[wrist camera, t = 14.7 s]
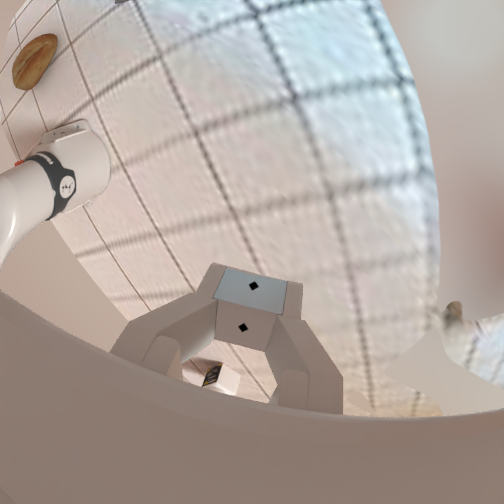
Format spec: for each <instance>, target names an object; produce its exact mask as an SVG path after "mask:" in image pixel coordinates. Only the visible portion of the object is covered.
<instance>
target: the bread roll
mask: <svg viewBox="0 0 504 504" xmlns="http://www.w3.org/2000/svg"><path fill="white" fill-rule="evenodd" d="M56 47H57V36H56V35H54V34H44V35H41V36H39V37H36V38H35V39H33V40H32V41H30V42H29V43H28V44H27V45H26V46H25V47H24V48H23V50H22V51H21V52H20V54H19V55H18V57H17V58H16V60H15V62H14V65H13V69H12V75H13V82H14V85H15V87H16V88H18V89H22V90H30V89H32V88H33V87H34V86H35V85H36V84H37V83H38V82H39V80H40V78H41V77H42V75H43V73H44V72H45V70H46V68H47V66H48V65H49V63H50V61H51V60H52V58H53V56H54V53H55V50H56Z"/></svg>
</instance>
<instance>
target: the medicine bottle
mask: <svg viewBox="0 0 504 504" xmlns="http://www.w3.org/2000/svg"><path fill="white" fill-rule="evenodd" d="M240 378H241V374H239V373H238V372H236V371H235V370H233V369H232V368H230V367H229V366H227V365H226V364H224V363H221V364H219V365H216V366H214V367H212V368H209V369H208V371H207V374H206V377H205V379H204V382H203V385H202V387H203V388H206V389H210V390H213V391H217V392H221V393H224V394H228V395H232V396H233V395H236V392H237V389H238V385H239V381H240Z"/></svg>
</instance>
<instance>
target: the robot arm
mask: <svg viewBox="0 0 504 504" xmlns="http://www.w3.org/2000/svg"><path fill="white" fill-rule="evenodd" d="M109 175H110V162H109V157H108V153H107V151H106V148H105V146H104V144H103V143H102V141H101V140H100V139H99V137H98V136H96V135H95V134H94V133H93V132H92V130H91V128H90V126H89V124H88V122H87V121H86V120H85V119H82V120H79V121H76V122H73V123H70V124H67V125H65V126H62V127H59V128H56V129H54V130H51V131H49V132H46V133H45V134H43V136H42V140H41V145H38V146H36V147H34V148H33V150H32V152H31V156H29V157H28V158H27V159H26V160H25V161H23V160H21V161H18V162H16V163H15V167H14V168H12V169H10V170H8V171H6V172H4V173H2V174H0V270H1V268H2V266H3V265H4V263H5V261H6V259H7V258H8V256H9V254H10V253H11V251H12V250H13V249H14V247H15V246H16V245H17V244H18V242H19V241H20V240H21V239H22V238H23V237H24V236H26V235H27V234H28V233H29V232H30V231H32V230H33V229H34V228H35V227H37V226H38V225H39V224H41V223H42V222H43V221H47V220H50V219H51V218H54V217H55V216H57V215H58V214H59V213H60V212H62V213H64V214H66V213H69V212H70V211H72V210H74V209H76V208H78V207H79V206H81V205H84V206H86V207H88V206H90V205H92V203H93V201H94V199H95V197H96V196H97V195H98V194H100V193H101V192H102V191H103V190H104V189H105V187H106V185H107V183H108V180H109ZM302 296H303V284H302V283H297V282H292V281H285V280H280V279H276V278H272V277H267V276H263V275H259V274H256V273H252V272H248V271H244V270H240V269H237V268H233V267H229V266H228V267H227V266H225V265H221V264H217V263H212V264H211V265H210V267H209V269H208V270H207V272H206V274H205V276H204V278H203V280H202V282H201V283H200V285H199V287H198V289H197V291H196V293H189V294H186V295H184V296H182V297H180V298H178V299H176V300H174V301H172V302H170V303H168V304H166V305H163V306H161V307H159V308H157V309H155V310H153V311H151V312H149V313H147V314H144V315H142V316H140V317H138V318H136V319H134V320H132V321H130V322H129V323H128V324H127V326H126V327H125V329H124V330H123V332H122V334H121V335H120V336H119V338H118V339H117V341H116V343H115V344H114V346H113V347H112V349H111V350H110V352H107V351H105V350H103V349H101V348H98V347H96V346H94V345H92V344H90V343H88V342H86V341H84V340H82V339H80V338H78V337H76V336H74V335H73V334H71V333H69V332H67V331H65V330H63V329H61V328H59V327H58V326H56V325H54V324H53V323H51V322H49V321H47V320H46V319H44V318H43V317H41V316H39V315H37V314H36V313H34V312H33V311H31V310H30V309H28V308H26V307H25V306H23V305H22V304H20V303H19V302H17V301H16V300H14V299H13V298H11V297H10V296H9V295H7V294H6V293H4V292H3V291H2V290H0V504H504V408H501V409H495V410H489V411H482V412H476V413H468V414H459V415H448V416H433V417H369V416H354V415H343V376H342V375H341V373H340V372H339V370H338V369H337V367H336V366H335V364H334V363H333V361H332V360H331V358H330V357H329V355H328V354H327V352H326V351H325V349H324V348H323V346H322V345H321V343H320V342H319V340H318V339H317V337H316V336H315V334H314V333H313V331H312V330H311V328H310V327H309V326H308V324H307V323H306V321H305V320H301V310H302ZM214 339H215V340H219V341H223V342H228V343H232V344H236V345H240V346H244V347H248V348H251V349H255V350H259V351H263V352H265V355H266V358H267V360H268V363H269V365H270V367H271V370H272V372H273V375H274V377H275V380H276V382H277V384H278V385H277V387H276V389H275V391H274V393H273V395H272V397H271V399H270V401H269V403H268V404H267V403H262V402H258V401H253V400H249V399H244V398H240V397H236V396H232V395H228V394H224V393H221V392H217V391H213V390H210V389H206V388H203V387H200V386H196V385H193V384H190V383H187V382H184V381H183V375H182V364H183V363H184V362H186V361H187V360H189V359H190V358H191V357H193V356H194V355H195V354H197V353H198V352H199V351H201V350H202V349H203V348H205V347H206V346H207V345H209V344H210V343H211V342H213V341H214Z"/></svg>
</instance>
